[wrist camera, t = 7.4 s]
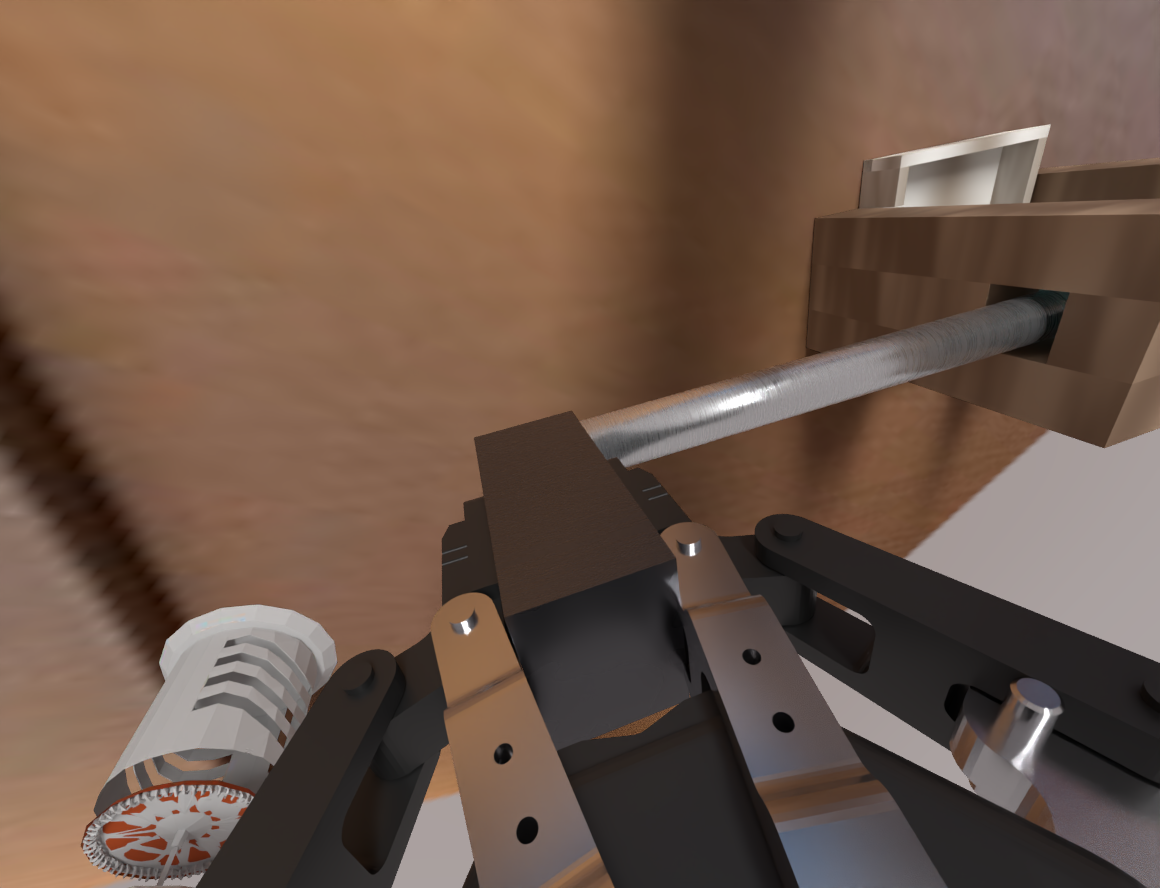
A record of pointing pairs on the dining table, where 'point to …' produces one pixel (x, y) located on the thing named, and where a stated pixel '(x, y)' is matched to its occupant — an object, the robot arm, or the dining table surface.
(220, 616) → the french press
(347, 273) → the dining table surface
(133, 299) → the dining table surface
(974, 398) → the bearing frame
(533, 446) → the shaft
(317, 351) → the dining table surface
